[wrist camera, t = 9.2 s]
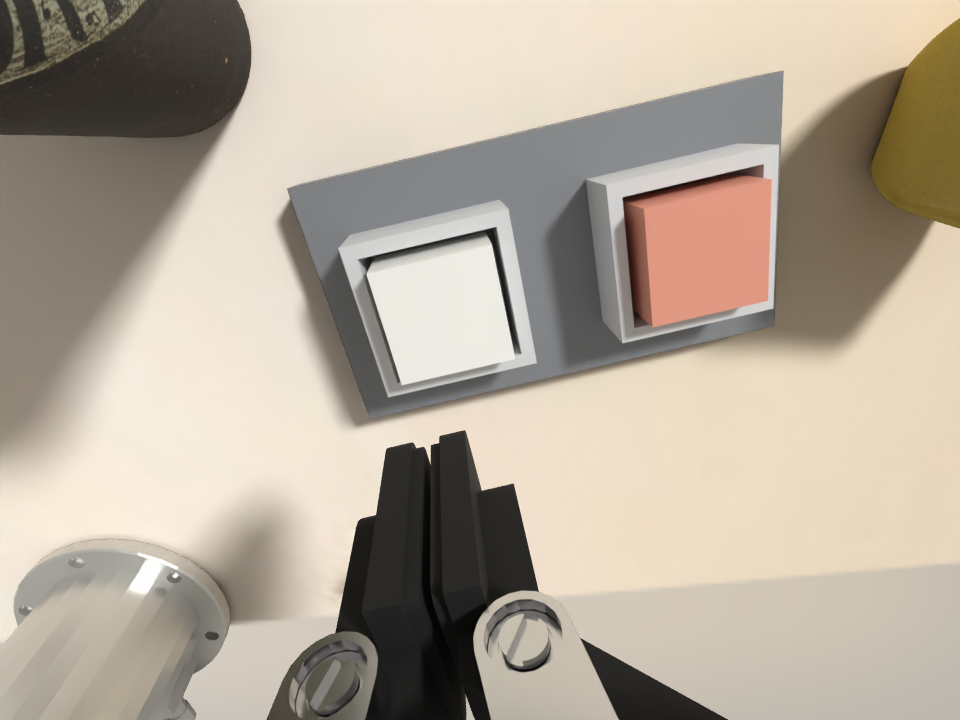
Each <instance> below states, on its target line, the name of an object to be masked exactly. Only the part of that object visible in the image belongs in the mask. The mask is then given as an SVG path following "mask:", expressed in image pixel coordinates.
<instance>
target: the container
mask: <svg viewBox="0 0 960 720" xmlns="http://www.w3.org/2000/svg"><path fill="white" fill-rule="evenodd" d="M250 67H251V42H250V36H249V31H248V27H247V24H246V20H245V17H244V13H243V11H242V9H241V7H240V5H239V3H238V1H237V0H0V135H58V136H60V135H64V136H114V137H141V138H158V137H177V136H185V135H189V134H193V133H196V132H199V131H202V130H204V129H206V128H208V127H210V126H212V125H214V124H215V123H217V122H218V121H219V120H221V119H222V118H223V117H224V116H225V115H226V114H227V113H228V112H229V111H230V110H231V109H232V108H233V107H234V106H235V104H236V103H237V101H238V100H239V98H240V96H241V94H242V92H243V90H244V88H245V86H246V83H247V80H248V77H249V72H250Z"/></svg>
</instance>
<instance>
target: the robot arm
mask: <svg viewBox="0 0 960 720" xmlns="http://www.w3.org/2000/svg"><path fill="white" fill-rule="evenodd" d="M14 614H15V617H16V621H17V625H18V628H17V629H16V630H15V631H14V632H13V633H12V635H11V636H10V637H9V638H8V639H7V640H6V642H5V643H4V644H3V645H2V647H1V648H0V720H167V719H168V720H195V718H196V712H195V711H194V709H193V708H192V707H191V706H190V704H189V703H188V701H187V700H184V698H183V695H184V692H185V690H186V688H187V686H188V683H189V681H190V679H191V677H192V674H194V673H196V672H197V671H199V670H201V669H203V668H204V667H205V666H206V665H207V664H209V663H210V662H211V661H212V660H213V659H214V658H215V656H216V655H217V654H218V652H219V651H220V649H221V647H222V645H223V642H224V640H225V638H226V636H227V633H228V629H229V625H230V610H229V607H228V604H227V601H226V598H225V596H224V594H223V593H222V591H221V589H220V588H219V586H218V585H217V584H216V582H215V581H214V580H213V579H212V578H211V577H210V576H209V575H208V574H207V573H206V572H205V571H203V570H202V569H201V568H200V567H198V566H197V565H196V564H194V563H193V562H191V561H190V560H188V559H186V558H184V557H182V556H180V555H178V554H177V553H175V552H172V551H169V550H166V549H164V548H161V547H158V546H155V545H151V544H147V543H142V542H138V541H131V540H120V539H99V540H89V541H84V542H78V543H73V544H71V545H68V546H65V547H63V548H60V549H57V550H55V551H54V552H52V553H51V554H49V555H47V556H46V557H44V558H42V560H41V561H40V562H39V563H38V564H37V565H36V566H35V567H34V568H33V569H32V570H31V571H30V572H29V573H28V574H27V575H26V576H25V578H24V579H23V580H22V581H21V583H20V584H19V586H18V589H17V591H16V594H15V597H14ZM465 694H466V697H467V699H468V702H469V705H470V708H471V711H472V713H473V716H474V718H475V720H728V719H726V718H724V717H722V716H720V715H718V714H716V713H715V712H713V711H711V710H709V709H708V708H706V707H704V706H702V705H700V704H699V703H697V702H695V701H693V700H691V699H690V698H687V697H686V696H684V695H682V694H680V693H678V692H677V691H675V690H673V689H671V688H670V687H668V686H666V685H664V684H662V683H661V682H659V681H657V680H655V679H653V678H651V677H650V676H648V675H646V674H644V673H642V672H641V671H639V670H637V669H635V668H633V667H632V666H629V665H628V664H626V663H624V662H622V661H621V660H619V659H617V658H615V657H614V656H612V655H610V654H608V653H606V652H604V651H602V650H601V649H599V648H597V647H595V646H593V645H592V644H590V643H588V642H586V641H584V640H583V639H581V638H580V637H579V635H578V633H577V631H576V629H575V626H574V624H573V622H572V620H571V618H570V616H569V615H568V613H567V611H566V610H565V609H564V607H563V606H562V605H561V604H560V603H559V602H558V601H556V600H555V599H554V598H552V597H551V596H549V595H546V594H543V593H540V592H539V591H538V586H537V582H536V578H535V573H534V569H533V565H532V560H531V556H530V552H529V548H528V543H527V539H526V535H525V530H524V526H523V522H522V518H521V513H520V509H519V505H518V500H517V496H516V492H515V488H514V484H510V485H505V486H501V487H497V488H492V489H488V490H484V491H482V490H481V486H480V483H479V479H478V475H477V471H476V468H475V464H474V460H473V456H472V453H471V449H470V445H469V441H468V438H467V434H466V432H465V430H464V431H459V432H455V433H451V434H447V435H442V436H440V437H439V443H438V444H434V445H431V465H430V462H429V459H428V456H427V452H426V450H425V448H424V447H421V448H416V447H415V445H414V443H413V442H412V443H408V444H403V445H399V446H395V447H390V448H387V449H386V453H385V460H384V467H383V473H382V480H381V487H380V493H379V500H378V506H377V513H376V515H375V516H371V517H366V518H362V519H360V520H359V521H358V524H357V527H356V531H355V536H354V541H353V546H352V551H351V557H350V562H349V567H348V572H347V577H346V582H345V587H344V592H343V597H342V602H341V607H340V612H339V617H338V622H337V628H336V633H334V634H330V635H328V636H326V637H324V638H322V639H320V640H318V641H316V642H315V643H314V644H312V645H311V646H310V647H309V648H307V649H306V650H305V651H303V652H302V653H301V655H300V656H299V657H298V658H297V659H296V660H295V662H294V663H293V664H292V665H291V666H290V668H289V670H288V672H287V674H286V676H285V677H284V679H283V681H282V683H281V686H280V688H279V691H278V693H277V696H276V698H275V700H274V703H273V705H272V708H271V710H270V713H269V715H268V717H267V720H466V697H465Z"/></svg>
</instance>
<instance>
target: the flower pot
mask: <svg viewBox="0 0 960 720" xmlns="http://www.w3.org/2000/svg"><path fill="white" fill-rule="evenodd" d="M871 175H872V178H873V181H874V183H875V185H876V187H877V189H878V190H879V192H880V193H881V194H882V196H883V197H884V198H885V199H887V200H888V201H889V202H890V203H892V204H893V205H895V206H896V207H898V208H900V209H902V210H904V211H907V212H909V213H912V214H915V215H918V216H921V217H924V218H927V219H930V220H934V221H937V222H940V223H944V224H947V225H950V226H954V227H957V228H960V19H958V20H956V21H955V22H954V23H952V24H951V25H950V26H948V27H947V28H946V29H944V30H943V31H942V32H941V33H940V34H938V35H937V36H936V37H935V38H934V39H933V40H932V41H931V42H930V43H929V44H927V45H926V47H925V48H924V49H923V50H922V51H921V52H920V53H919V54H918V55H917V56H916V57H915V58H914V60H913V61H912V62H911V63H910V64H909V66H908V68H907V69H906V71H905V73H904V76H903V79H902V82H901V85H900V88H899V90H898V93H897V96H896V99H895V101H894V104H893V107H892V110H891V113H890V115H889V118H888V121H887V124H886V127H885V129H884V132H883V134H882V137H881V140H880V142H879V145H878V148H877V150H876V153H875V156H874V158H873V161H872V164H871Z"/></svg>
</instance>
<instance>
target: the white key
mask: <svg viewBox="0 0 960 720" xmlns="http://www.w3.org/2000/svg"><path fill="white" fill-rule="evenodd" d="M367 278H368V281H369V284H370V287H371V290H372V293H373V296H374V300H375V303H376V306H377V309H378V312H379V315H380V318H381V321H382V325H383V328H384V331H385V334H386V337H387V340H388V343H389V347H390V350H391V353H392V356H393V359H394V362H395V365H396V369H397V372H398V375H399V378H400V381H401V384H402V385H405V384H410V383H414V382H418V381H423V380H427V379H431V378H436V377H440V376H444V375H448V374H453V373H457V372H461V371H466V370H470V369H474V368H479V367H483V366H487V365H492V364H496V363H500V362H505V361H509V360H513V359H515V355H514V350H513V345H512V340H511V335H510V330H509V326H508V321H507V316H506V311H505V306H504V301H503V296H502V291H501V286H500V282H499V277H498V272H497V267H496V262H495V257H494V252H493V247H492V244H491V242H490V240H489V238H488V236H487V234H486V232H485V231H483V232H479V233H474V234H470V235H466V236H462V237H457V238H453V239H449V240H445V241H440V242H436V243H432V244H428V245H423V246H419V247H415V248H411V249H406V250H402V251H398V252H393V253H389V254H385V255H381V256H376V257H375V258H374V260H373V262H372V264H371V266H370V268H369V270H368V272H367Z"/></svg>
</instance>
